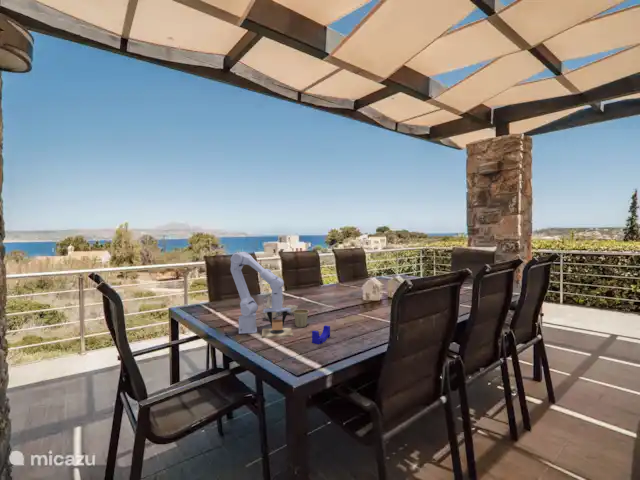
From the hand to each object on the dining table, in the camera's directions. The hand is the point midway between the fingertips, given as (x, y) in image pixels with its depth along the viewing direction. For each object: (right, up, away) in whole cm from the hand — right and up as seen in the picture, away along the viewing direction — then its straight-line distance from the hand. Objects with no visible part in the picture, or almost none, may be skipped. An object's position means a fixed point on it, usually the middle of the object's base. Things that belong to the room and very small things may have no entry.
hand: (277, 325), depth 177 cm
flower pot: (+12, -4, +14) cm, 19 cm away
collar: (0, -2, 0) cm, 2 cm away
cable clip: (+24, -5, -10) cm, 27 cm away
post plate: (0, -4, 0) cm, 4 cm away
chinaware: (-4, -3, +36) cm, 36 cm away
